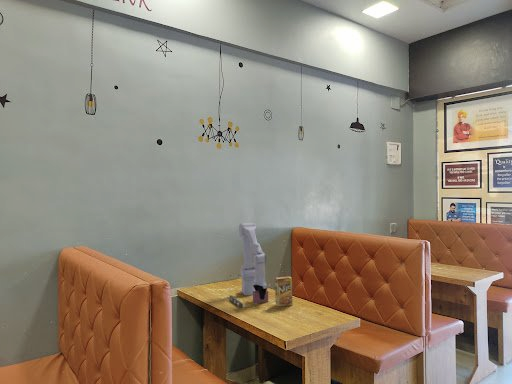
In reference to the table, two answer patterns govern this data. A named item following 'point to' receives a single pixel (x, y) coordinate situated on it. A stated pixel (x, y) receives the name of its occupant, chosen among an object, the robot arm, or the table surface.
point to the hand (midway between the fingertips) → (260, 298)
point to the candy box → (283, 291)
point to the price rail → (236, 301)
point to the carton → (257, 297)
